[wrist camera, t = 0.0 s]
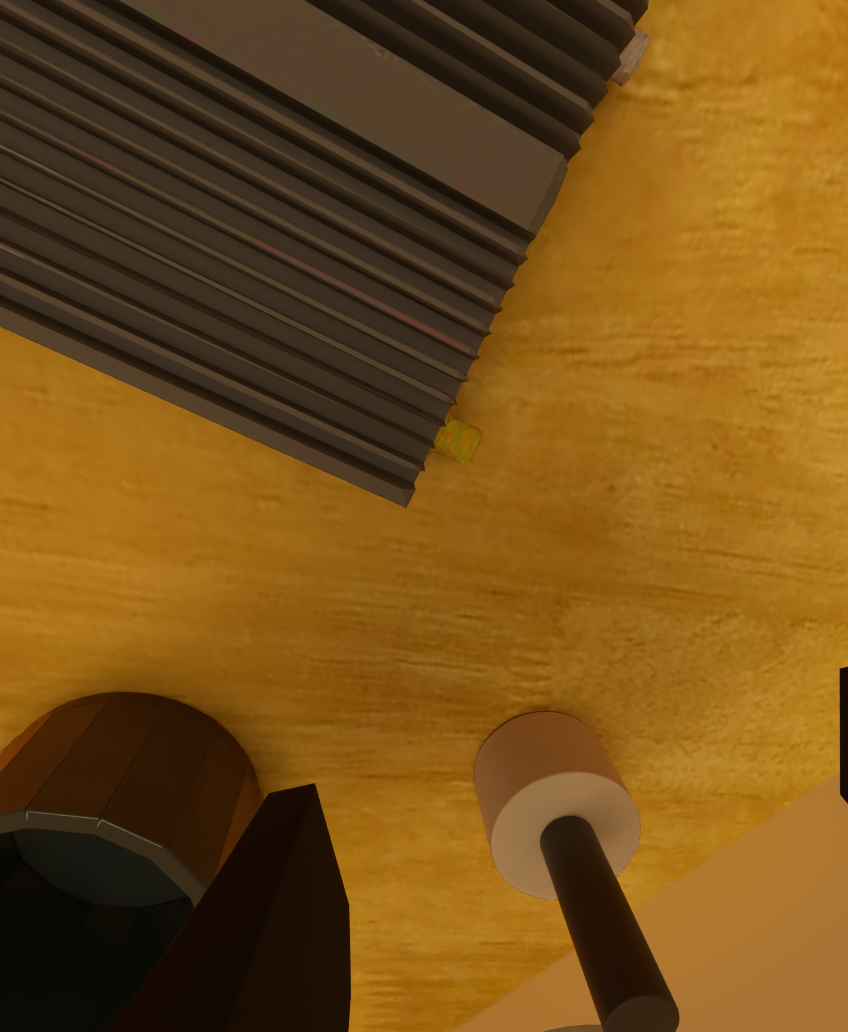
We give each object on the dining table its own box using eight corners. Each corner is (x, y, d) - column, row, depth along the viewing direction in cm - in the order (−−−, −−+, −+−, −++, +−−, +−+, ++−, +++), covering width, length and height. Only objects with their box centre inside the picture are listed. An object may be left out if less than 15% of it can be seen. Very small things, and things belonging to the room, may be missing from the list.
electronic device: (430, 485, 17) (453, 534, 12) (-129, 229, 15) (-382, 163, 10) (659, 15, 15) (801, -155, 10) (35, -403, 12) (-194, -923, 7)
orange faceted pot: (287, 876, 20) (261, 1037, 15) (51, 928, 20) (-51, 1109, 15) (223, 667, 18) (168, 779, 13) (-43, 723, 18) (-196, 857, 13)
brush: (609, 809, 21) (750, 1076, 13) (484, 836, 21) (552, 1124, 13) (595, 698, 20) (741, 919, 12) (463, 727, 19) (523, 969, 12)
